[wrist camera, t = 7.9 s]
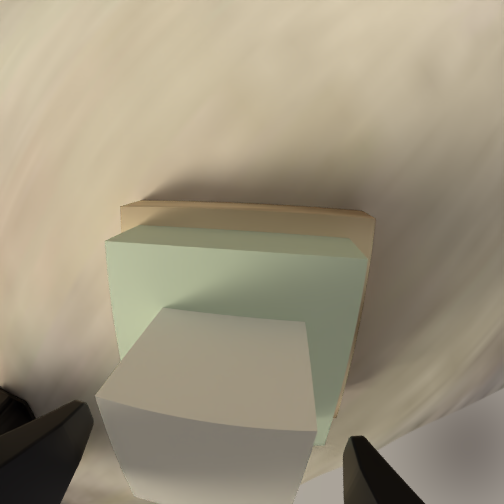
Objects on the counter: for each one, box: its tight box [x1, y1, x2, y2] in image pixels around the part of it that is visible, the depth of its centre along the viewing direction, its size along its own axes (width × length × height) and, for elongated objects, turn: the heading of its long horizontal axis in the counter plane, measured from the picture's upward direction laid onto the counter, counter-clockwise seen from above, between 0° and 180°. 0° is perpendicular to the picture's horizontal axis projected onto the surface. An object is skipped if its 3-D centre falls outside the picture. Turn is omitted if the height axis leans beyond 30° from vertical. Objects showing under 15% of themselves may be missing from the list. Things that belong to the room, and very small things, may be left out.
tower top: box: [105, 225, 368, 445], centre depth 13 cm, size 9×9×3 cm
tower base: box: [120, 200, 376, 418], centre depth 16 cm, size 11×11×3 cm
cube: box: [95, 308, 317, 504], centre depth 9 cm, size 5×5×5 cm
